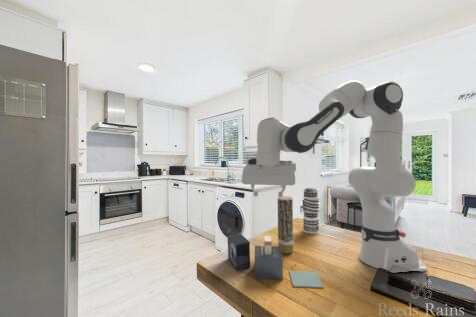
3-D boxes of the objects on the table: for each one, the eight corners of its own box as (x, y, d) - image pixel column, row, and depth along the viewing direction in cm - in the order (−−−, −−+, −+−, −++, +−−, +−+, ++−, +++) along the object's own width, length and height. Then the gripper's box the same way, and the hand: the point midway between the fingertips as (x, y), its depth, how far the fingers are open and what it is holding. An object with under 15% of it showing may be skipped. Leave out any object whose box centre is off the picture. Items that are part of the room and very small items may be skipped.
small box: (227, 258, 90) (226, 234, 90) (240, 255, 93) (240, 232, 93) (235, 271, 80) (235, 244, 80) (251, 267, 83) (250, 241, 83)
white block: (271, 260, 82) (270, 235, 82) (271, 267, 77) (271, 241, 77) (264, 260, 82) (264, 235, 82) (264, 267, 77) (264, 241, 77)
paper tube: (293, 254, 93) (292, 199, 92) (278, 253, 94) (277, 198, 94) (292, 248, 99) (292, 196, 99) (278, 247, 101) (277, 195, 100)
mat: (316, 272, 78) (316, 271, 78) (323, 288, 69) (323, 286, 69) (289, 271, 79) (289, 270, 79) (293, 286, 70) (293, 285, 70)
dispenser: (280, 266, 84) (279, 245, 83) (282, 279, 75) (282, 256, 74) (255, 265, 84) (254, 244, 84) (254, 278, 76) (254, 255, 75)
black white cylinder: (322, 233, 117) (322, 189, 117) (307, 234, 115) (307, 190, 115) (314, 227, 126) (313, 186, 126) (299, 229, 124) (299, 187, 124)
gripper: (294, 160, 81) (294, 195, 81) (243, 160, 84) (242, 194, 84) (297, 160, 75) (297, 199, 75) (241, 160, 78) (241, 197, 78)
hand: (268, 196), depth 80 cm, fingers open, 8 cm apart
